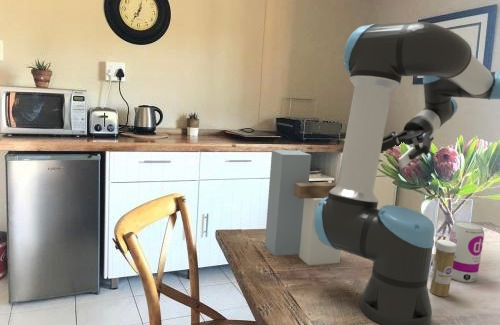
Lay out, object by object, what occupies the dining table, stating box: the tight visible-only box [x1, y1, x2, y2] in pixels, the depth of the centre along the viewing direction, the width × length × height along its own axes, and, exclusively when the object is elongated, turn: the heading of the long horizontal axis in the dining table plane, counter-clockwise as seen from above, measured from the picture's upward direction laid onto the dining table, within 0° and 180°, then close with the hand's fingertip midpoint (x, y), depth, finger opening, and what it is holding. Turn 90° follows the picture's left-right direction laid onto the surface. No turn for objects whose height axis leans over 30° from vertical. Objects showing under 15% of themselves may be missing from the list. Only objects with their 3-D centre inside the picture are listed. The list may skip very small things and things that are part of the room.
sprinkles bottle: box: [429, 239, 457, 298], centre depth 106 cm, size 5×5×13 cm
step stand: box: [264, 149, 342, 266], centre depth 124 cm, size 17×16×30 cm
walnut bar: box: [294, 182, 337, 199], centre depth 120 cm, size 22×4×4 cm, turn 109°
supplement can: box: [448, 220, 485, 283], centre depth 116 cm, size 8×8×15 cm
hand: (380, 162), depth 120 cm, fingers open, 13 cm apart
